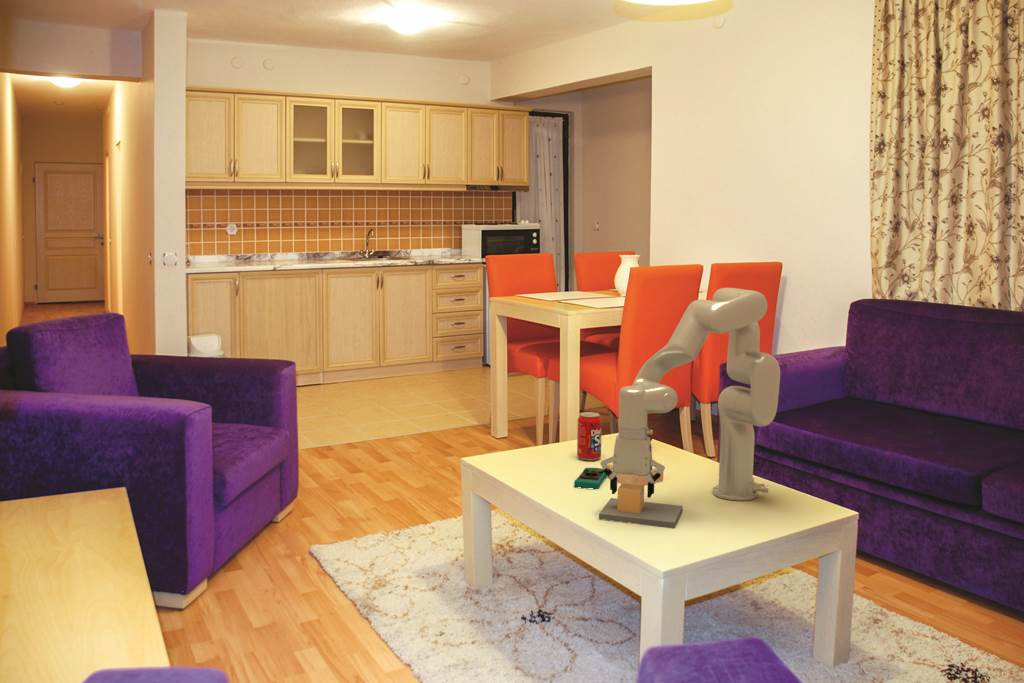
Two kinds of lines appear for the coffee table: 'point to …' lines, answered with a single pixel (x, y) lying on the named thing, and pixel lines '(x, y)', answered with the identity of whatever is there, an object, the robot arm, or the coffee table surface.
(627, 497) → the orange cube
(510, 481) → the coffee table surface
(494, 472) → the coffee table surface
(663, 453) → the coffee table surface
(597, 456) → the soda can
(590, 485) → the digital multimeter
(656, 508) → the grey oblong slab
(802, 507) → the coffee table surface
